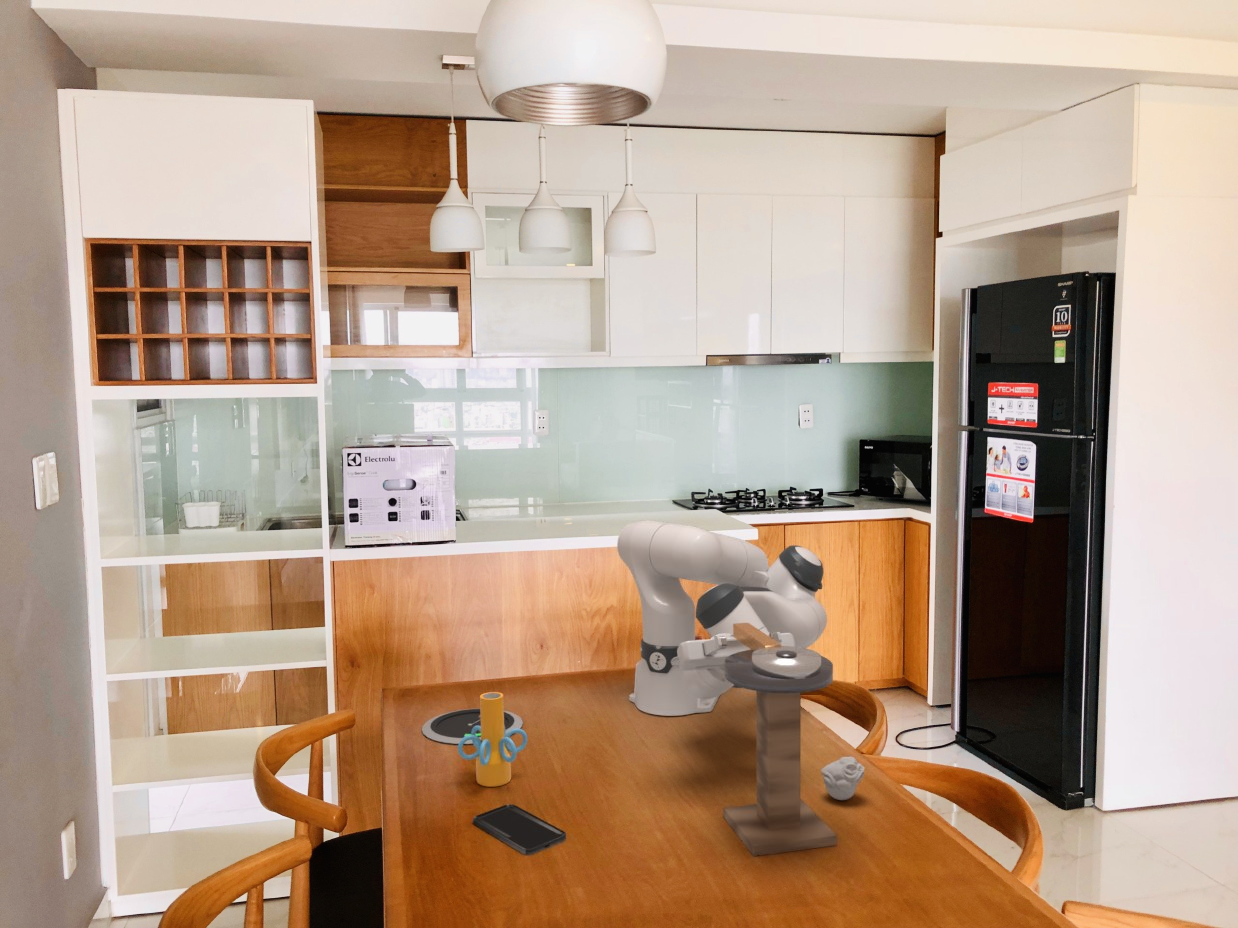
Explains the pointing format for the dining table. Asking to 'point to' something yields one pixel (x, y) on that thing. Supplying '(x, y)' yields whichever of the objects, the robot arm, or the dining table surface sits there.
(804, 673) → the cover
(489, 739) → the cylinder
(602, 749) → the dining table surface
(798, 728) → the pedestal
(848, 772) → the frog figurine
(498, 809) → the phone
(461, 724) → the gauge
